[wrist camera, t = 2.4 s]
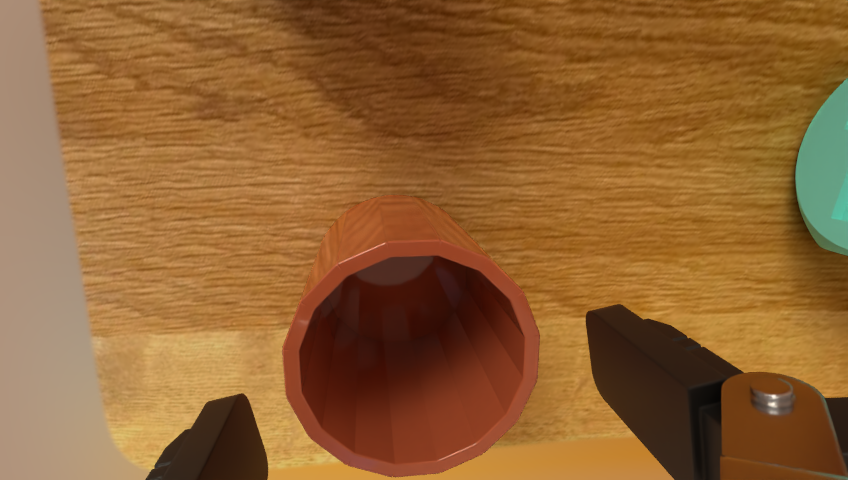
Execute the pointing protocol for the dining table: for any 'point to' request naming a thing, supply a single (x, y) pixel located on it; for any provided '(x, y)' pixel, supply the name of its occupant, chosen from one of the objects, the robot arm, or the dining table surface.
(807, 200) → the decorative dice
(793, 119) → the dining table surface
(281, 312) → the dining table surface
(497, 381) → the terracotta cup
